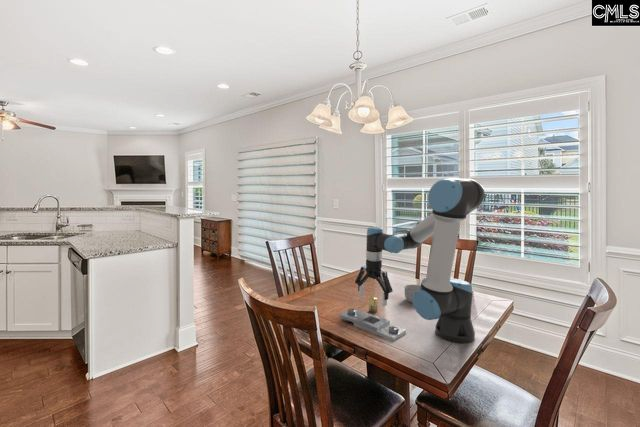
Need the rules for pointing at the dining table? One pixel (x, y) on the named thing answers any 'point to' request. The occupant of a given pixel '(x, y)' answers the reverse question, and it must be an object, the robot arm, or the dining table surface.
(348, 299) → the dining table surface
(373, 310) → the brass pin
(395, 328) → the grey peg base plate
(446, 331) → the robot arm
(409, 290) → the teacup
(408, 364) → the dining table surface
